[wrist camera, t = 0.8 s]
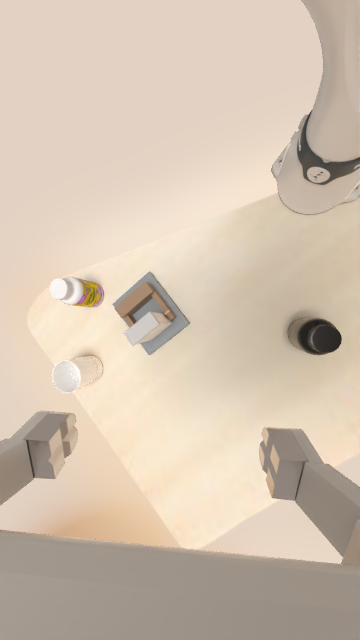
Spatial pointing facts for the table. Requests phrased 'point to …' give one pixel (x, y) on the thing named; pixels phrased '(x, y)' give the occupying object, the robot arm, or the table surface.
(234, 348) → the table surface
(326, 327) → the supplement bottle
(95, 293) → the supplement bottle
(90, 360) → the white cup
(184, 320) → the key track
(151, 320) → the push key
